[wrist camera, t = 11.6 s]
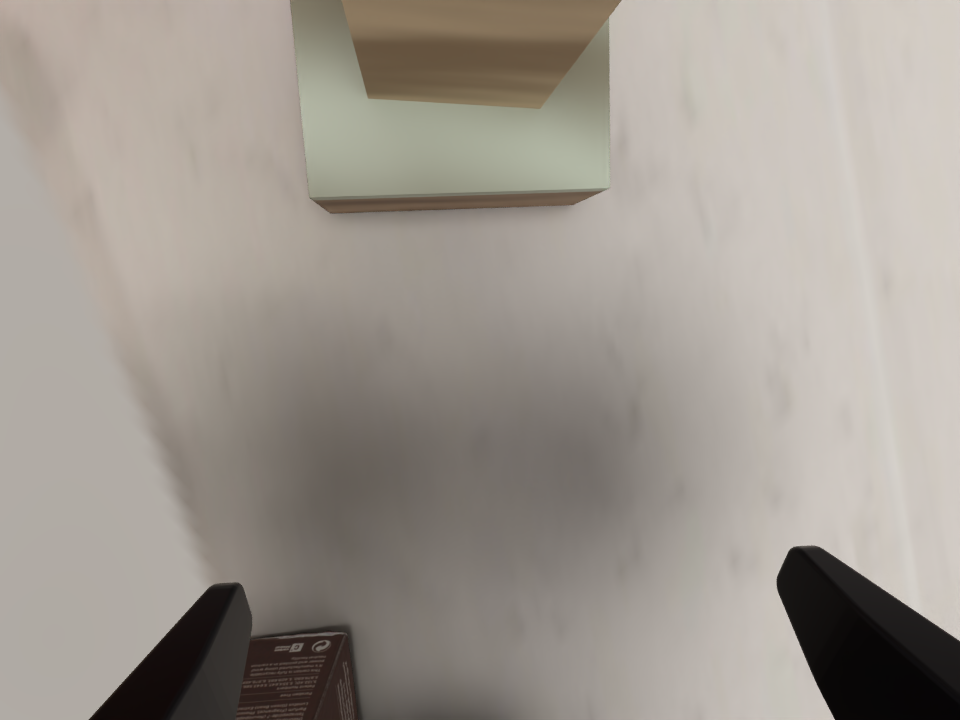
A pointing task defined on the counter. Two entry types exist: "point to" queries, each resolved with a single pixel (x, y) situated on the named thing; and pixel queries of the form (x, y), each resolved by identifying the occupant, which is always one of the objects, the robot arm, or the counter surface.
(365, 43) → the top brick
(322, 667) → the box
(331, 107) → the base brick
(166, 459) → the counter surface
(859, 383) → the counter surface
